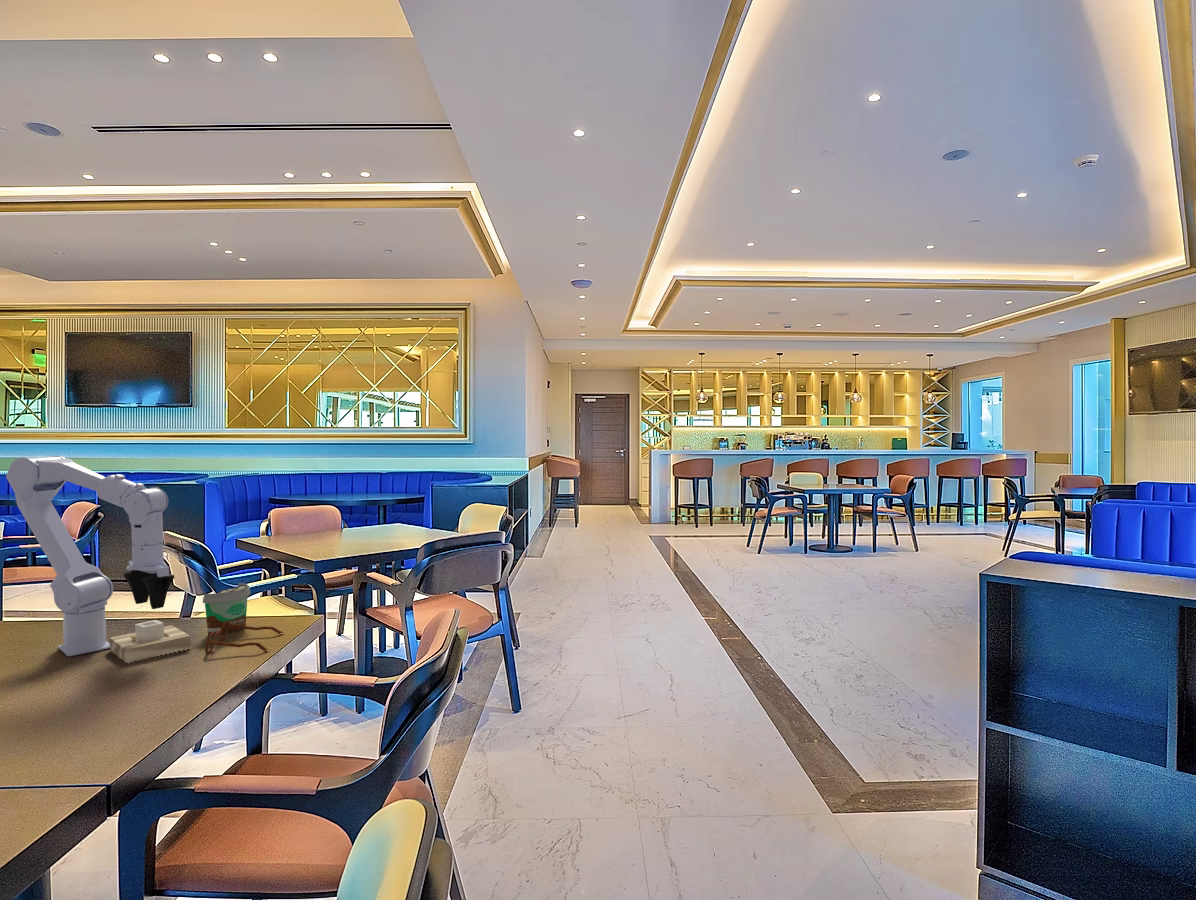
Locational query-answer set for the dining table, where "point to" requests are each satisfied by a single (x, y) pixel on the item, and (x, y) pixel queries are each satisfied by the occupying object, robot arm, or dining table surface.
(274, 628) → the glasses
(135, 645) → the holder
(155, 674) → the dining table surface
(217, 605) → the food container
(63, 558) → the robot arm
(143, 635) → the connector plug
